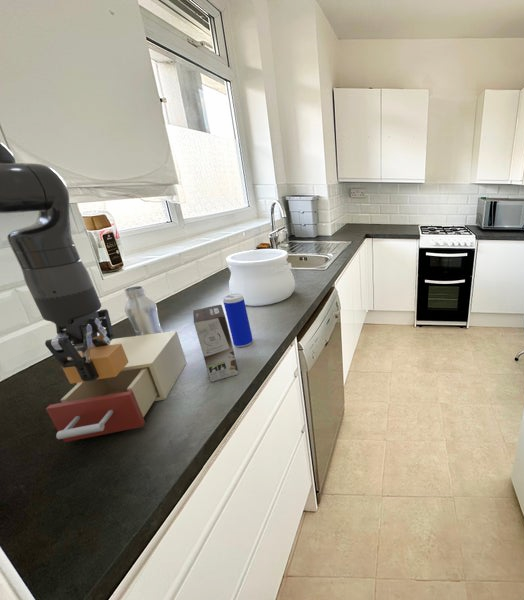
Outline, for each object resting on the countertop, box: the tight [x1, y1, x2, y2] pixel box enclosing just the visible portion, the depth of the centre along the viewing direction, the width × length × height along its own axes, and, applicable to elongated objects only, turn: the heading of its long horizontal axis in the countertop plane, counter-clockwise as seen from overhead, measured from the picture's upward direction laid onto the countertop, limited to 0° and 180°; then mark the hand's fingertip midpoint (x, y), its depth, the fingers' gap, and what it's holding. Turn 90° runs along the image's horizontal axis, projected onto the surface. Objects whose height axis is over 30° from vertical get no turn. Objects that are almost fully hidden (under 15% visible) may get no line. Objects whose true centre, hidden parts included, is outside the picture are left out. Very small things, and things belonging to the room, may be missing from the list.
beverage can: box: [223, 293, 254, 348], centre depth 90 cm, size 5×5×15 cm
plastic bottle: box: [124, 285, 164, 336], centre depth 83 cm, size 6×7×20 cm
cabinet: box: [76, 330, 187, 402], centre depth 73 cm, size 16×14×10 cm
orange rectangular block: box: [61, 344, 128, 385], centre depth 60 cm, size 7×5×4 cm
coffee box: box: [192, 304, 239, 383], centre depth 77 cm, size 9×6×16 cm
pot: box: [225, 248, 296, 307], centre depth 125 cm, size 26×24×18 cm
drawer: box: [45, 367, 159, 443], centre depth 62 cm, size 19×12×8 cm, turn 17°
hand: (100, 370), depth 60 cm, fingers closed on orange rectangular block, 5 cm apart
